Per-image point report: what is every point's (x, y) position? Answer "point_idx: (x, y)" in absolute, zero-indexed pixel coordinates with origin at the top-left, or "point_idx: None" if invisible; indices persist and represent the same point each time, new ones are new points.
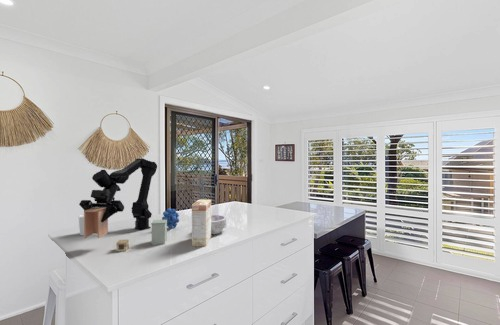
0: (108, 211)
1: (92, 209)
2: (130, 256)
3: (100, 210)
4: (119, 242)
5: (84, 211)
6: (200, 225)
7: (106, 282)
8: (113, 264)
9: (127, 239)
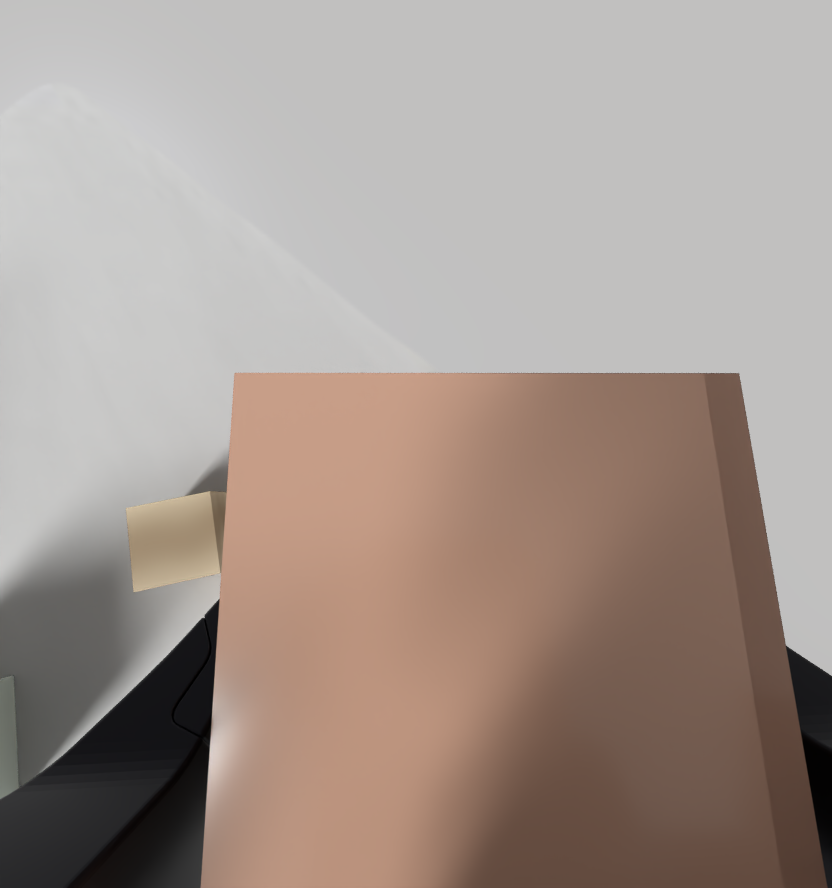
0: (120, 708)
1: (587, 555)
2: (97, 406)
3: (233, 477)
4: (184, 496)
5: (696, 382)
6: None
7: (87, 98)
8: (153, 284)
9: (144, 584)
